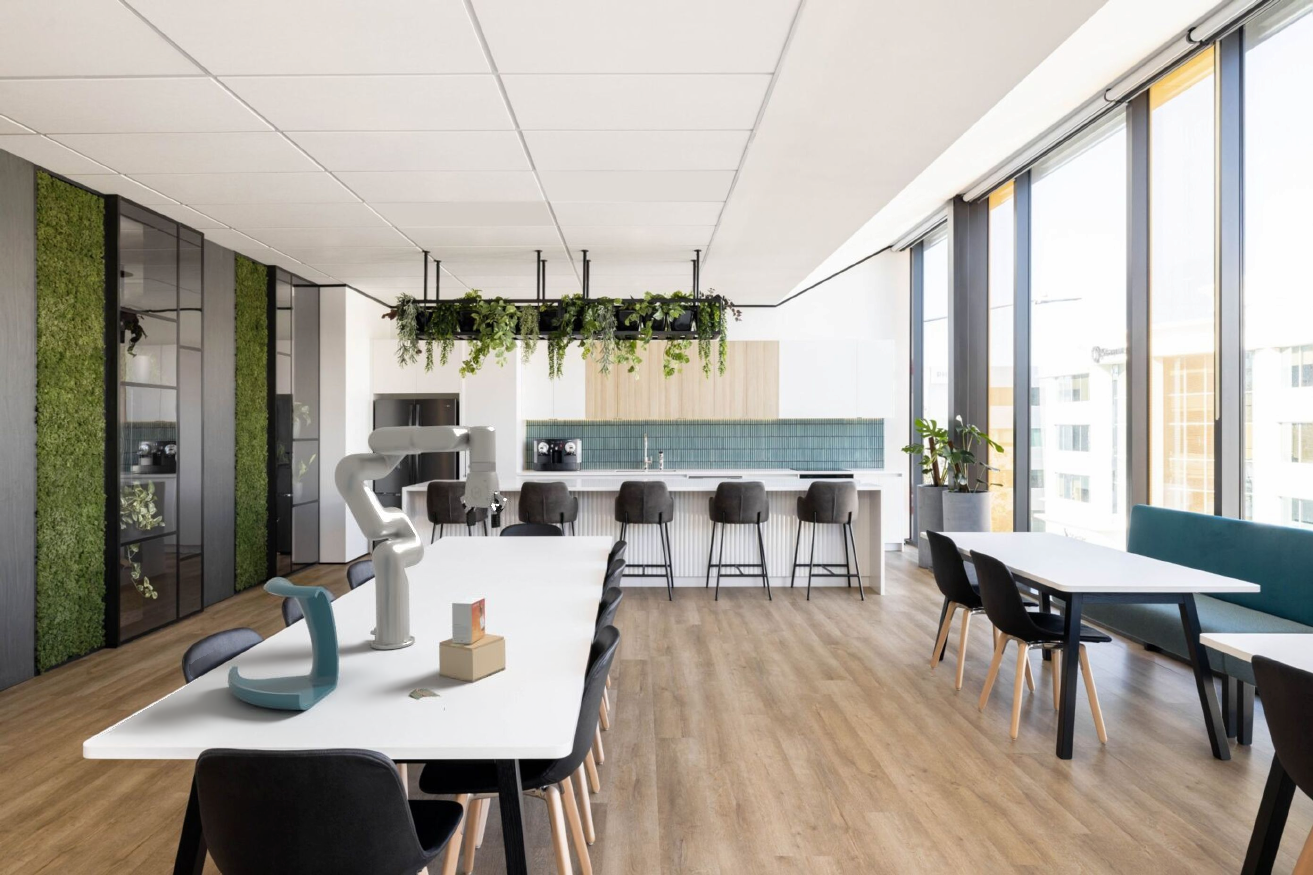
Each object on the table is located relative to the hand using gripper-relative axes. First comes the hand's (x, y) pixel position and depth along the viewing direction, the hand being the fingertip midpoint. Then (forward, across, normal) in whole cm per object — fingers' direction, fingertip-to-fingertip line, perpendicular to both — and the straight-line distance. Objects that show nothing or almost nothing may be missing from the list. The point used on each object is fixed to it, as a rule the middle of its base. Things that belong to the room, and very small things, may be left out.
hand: (483, 526), depth 211 cm
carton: (+36, +11, -16) cm, 41 cm away
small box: (+28, +11, -17) cm, 34 cm away
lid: (+28, +11, -16) cm, 35 cm away
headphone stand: (+37, -20, -53) cm, 67 cm away
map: (+37, +19, -36) cm, 55 cm away
